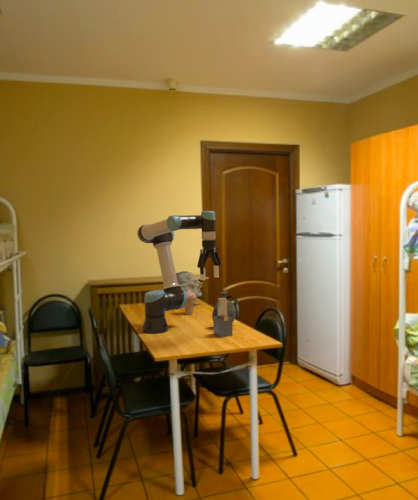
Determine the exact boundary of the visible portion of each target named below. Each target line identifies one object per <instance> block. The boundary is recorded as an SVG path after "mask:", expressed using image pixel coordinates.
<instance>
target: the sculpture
mask: <svg viewBox="0 0 418 500" xmlns="http://www.w3.org/2000/svg"><path fill="white" fill-rule="evenodd" d="M176 277H177V282H178V284H179V285H181V289H183V290H185V289H186V290H187V289H191V292H193V293H195V294H196V297H197V298H199V297H202V295H203V293H202V291H201V288H202V285H200V283H201V282H200V281H201V280H200V281H199V279H198V277H197V276H196V275H195V274H193V272H189V271H187V270H183V271H179V272H176ZM183 286H184V287H185V289H184V287H183ZM185 292H186V291H185ZM197 298H196V299H195V300H196V302H195V303H194V306H198V305H199V301H198V300H197Z"/></svg>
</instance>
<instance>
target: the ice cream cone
mask: <svg viewBox="0 0 418 500" xmlns="http://www.w3.org/2000/svg"><path fill="white" fill-rule="evenodd" d="M183 287H184V286H183ZM184 289H185V287H184ZM185 291H186V293H187V303H186V305H185V306H184V307H183V308H184V313H185V315H186V316H191V315H193V313H194V306H195V305H194V303H195V302H196V301H197V298H198V296H197V297H196V294H195V293H193V292H191V289H187V290H186V289H185ZM195 299H196V300H195Z"/></svg>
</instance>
